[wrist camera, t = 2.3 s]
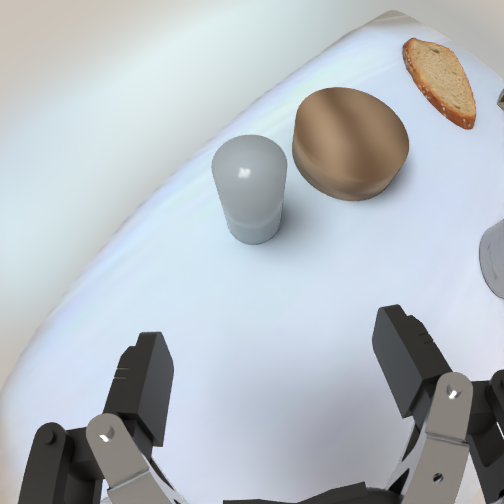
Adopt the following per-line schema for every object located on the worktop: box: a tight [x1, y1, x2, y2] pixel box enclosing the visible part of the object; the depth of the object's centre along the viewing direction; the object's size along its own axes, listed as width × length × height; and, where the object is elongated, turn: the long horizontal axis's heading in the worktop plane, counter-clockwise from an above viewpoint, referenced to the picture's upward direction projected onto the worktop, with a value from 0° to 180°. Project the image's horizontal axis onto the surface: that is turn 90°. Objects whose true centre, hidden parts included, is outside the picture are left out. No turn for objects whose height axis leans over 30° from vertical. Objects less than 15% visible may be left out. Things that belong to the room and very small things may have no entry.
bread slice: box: [402, 38, 476, 130], centre depth 35 cm, size 18×18×4 cm
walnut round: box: [292, 87, 409, 201], centre depth 30 cm, size 12×12×5 cm
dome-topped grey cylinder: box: [212, 135, 287, 245], centre depth 25 cm, size 5×5×10 cm
